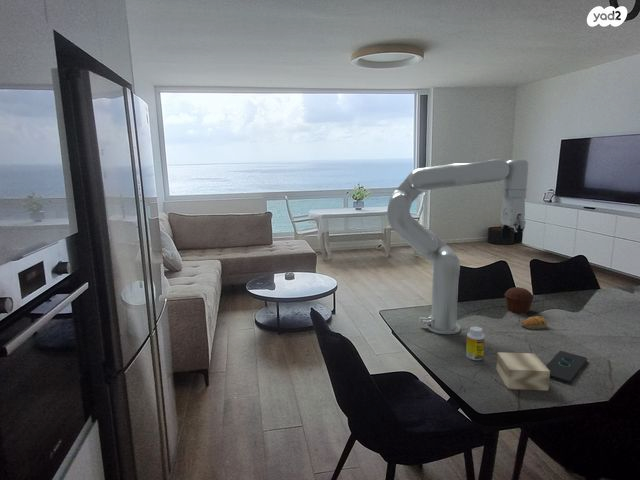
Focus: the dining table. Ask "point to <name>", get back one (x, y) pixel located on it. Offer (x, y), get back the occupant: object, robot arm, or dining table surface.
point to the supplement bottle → (475, 343)
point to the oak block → (523, 371)
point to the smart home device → (565, 366)
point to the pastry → (534, 322)
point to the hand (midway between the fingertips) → (511, 240)
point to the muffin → (518, 300)
